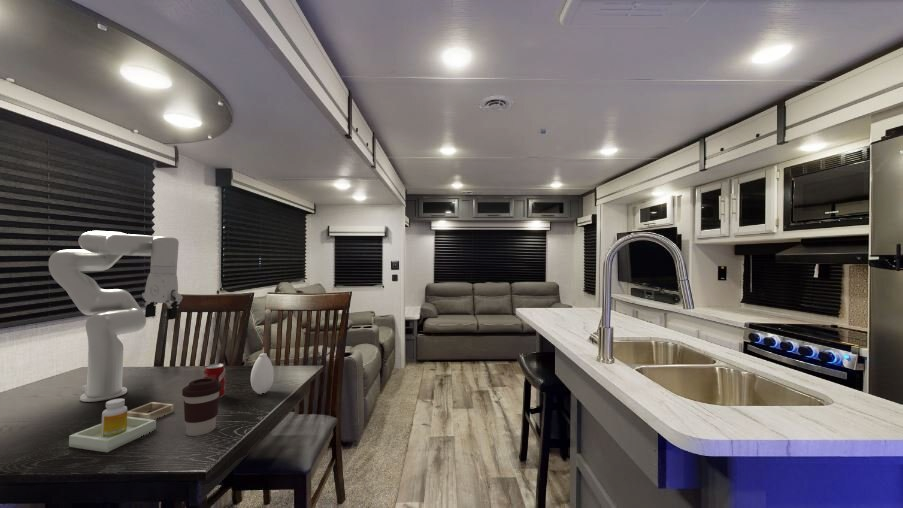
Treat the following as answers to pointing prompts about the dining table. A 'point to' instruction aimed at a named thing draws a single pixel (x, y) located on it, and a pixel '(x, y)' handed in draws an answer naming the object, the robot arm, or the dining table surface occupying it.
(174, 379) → the dining table surface
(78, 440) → the tray
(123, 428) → the supplement bottle
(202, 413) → the coffee cup
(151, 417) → the socket collar
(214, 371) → the soda can
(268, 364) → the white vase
